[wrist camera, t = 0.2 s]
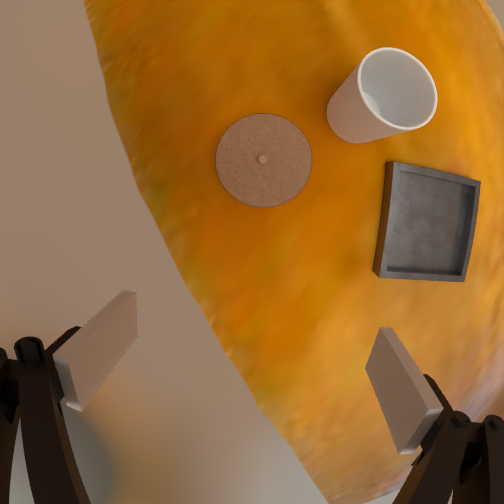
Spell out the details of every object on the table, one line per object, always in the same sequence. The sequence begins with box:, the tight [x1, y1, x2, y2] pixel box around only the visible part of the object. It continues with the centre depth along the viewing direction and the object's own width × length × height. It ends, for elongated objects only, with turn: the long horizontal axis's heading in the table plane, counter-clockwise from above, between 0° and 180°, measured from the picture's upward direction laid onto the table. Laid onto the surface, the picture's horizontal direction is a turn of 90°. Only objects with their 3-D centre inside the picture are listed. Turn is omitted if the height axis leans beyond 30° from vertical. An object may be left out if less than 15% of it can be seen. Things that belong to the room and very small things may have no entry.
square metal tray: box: [373, 162, 481, 282], centre depth 38 cm, size 16×16×3 cm
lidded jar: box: [215, 113, 312, 208], centre depth 35 cm, size 11×11×9 cm
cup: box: [326, 48, 437, 144], centre depth 29 cm, size 8×8×16 cm
